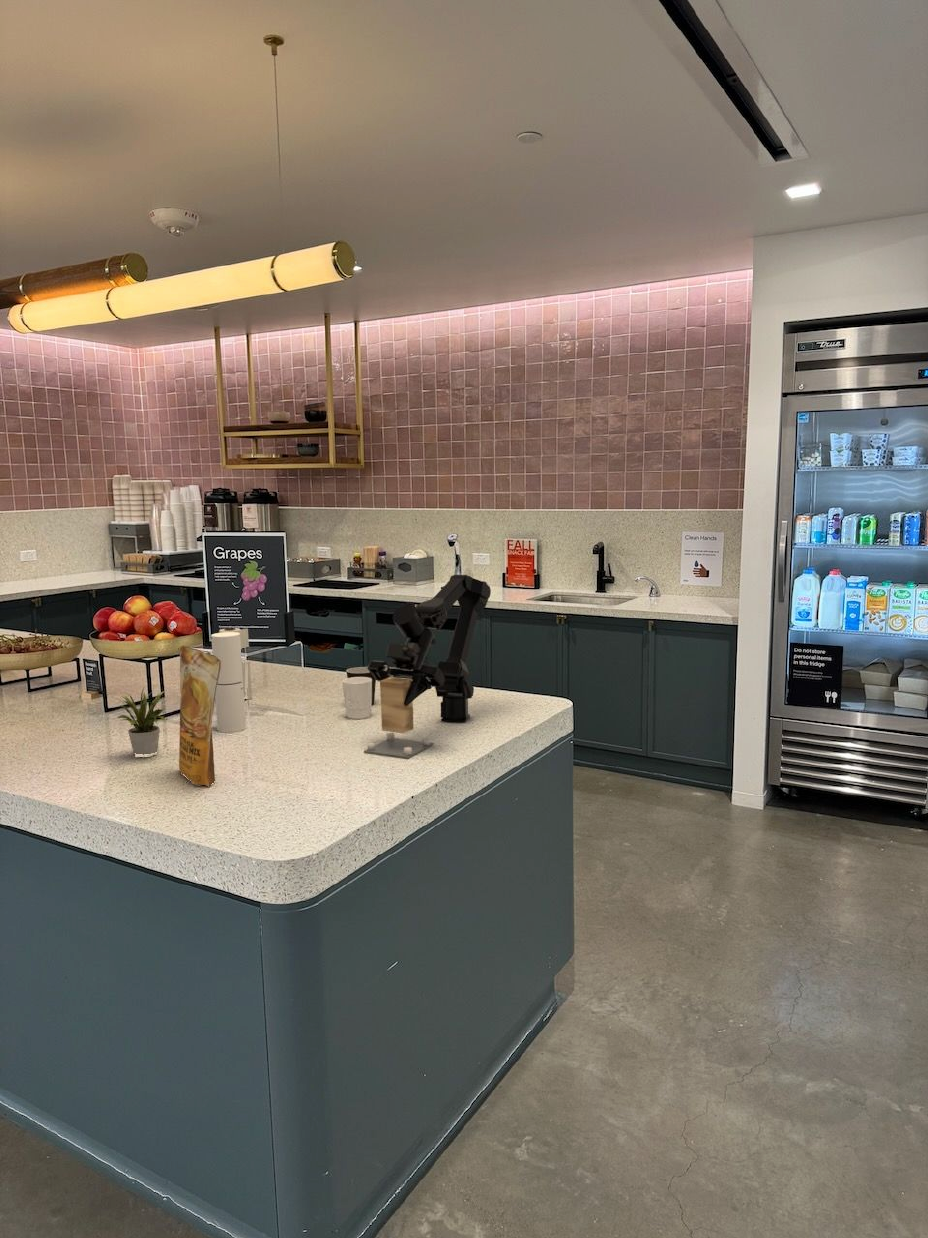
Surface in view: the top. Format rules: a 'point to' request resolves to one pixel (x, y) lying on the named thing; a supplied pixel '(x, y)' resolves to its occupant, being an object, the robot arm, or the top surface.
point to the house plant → (143, 725)
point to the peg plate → (398, 747)
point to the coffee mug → (362, 673)
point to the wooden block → (396, 705)
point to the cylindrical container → (229, 682)
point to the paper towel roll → (244, 644)
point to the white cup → (358, 697)
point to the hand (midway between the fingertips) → (393, 703)
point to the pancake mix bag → (197, 714)
